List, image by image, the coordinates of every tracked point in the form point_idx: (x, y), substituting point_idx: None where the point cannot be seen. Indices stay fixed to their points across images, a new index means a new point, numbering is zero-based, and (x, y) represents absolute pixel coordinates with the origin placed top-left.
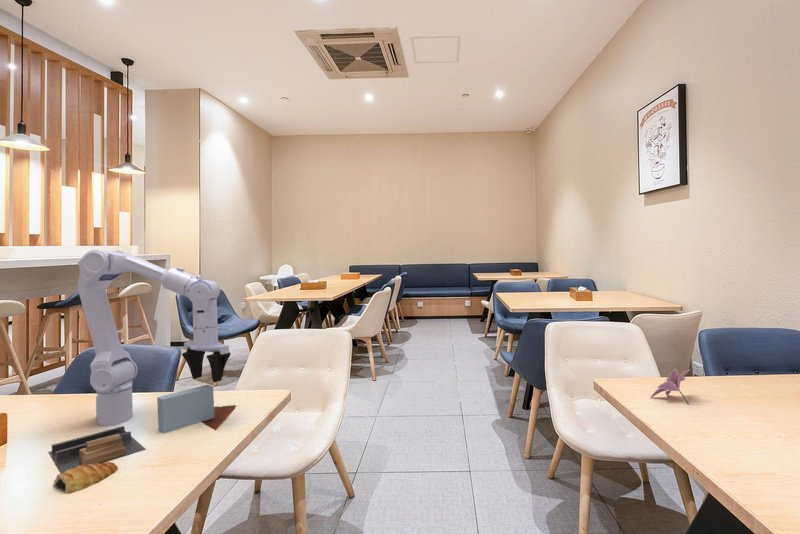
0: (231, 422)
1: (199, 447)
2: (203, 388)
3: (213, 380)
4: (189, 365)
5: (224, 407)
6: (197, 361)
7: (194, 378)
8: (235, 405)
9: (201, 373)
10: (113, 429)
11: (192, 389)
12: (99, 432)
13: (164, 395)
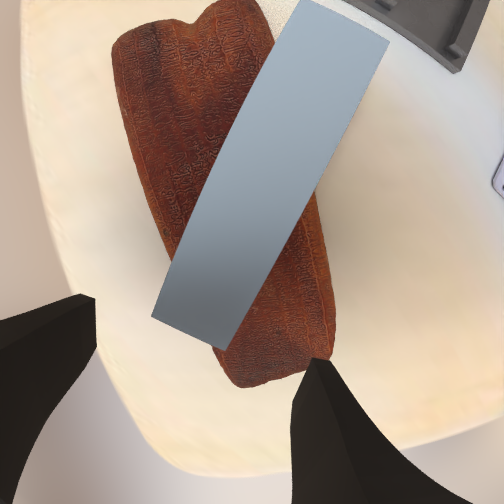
0: (133, 245)
1: (101, 42)
2: (183, 272)
3: (78, 297)
4: (369, 437)
5: (261, 364)
6: (310, 498)
7: (313, 360)
8: (238, 386)
9: (291, 421)
10: (468, 23)
11: (253, 243)
12: (484, 3)
13: (368, 78)
